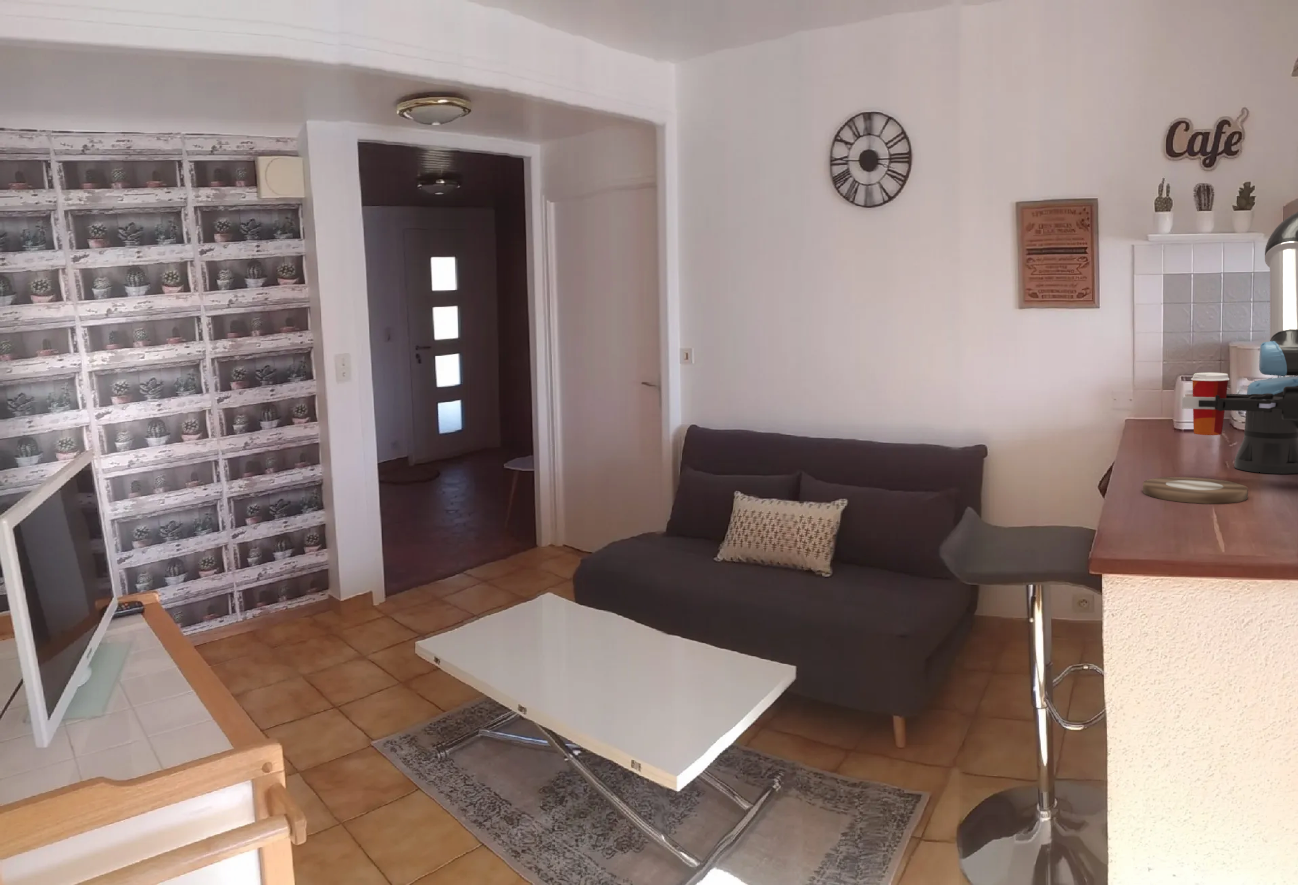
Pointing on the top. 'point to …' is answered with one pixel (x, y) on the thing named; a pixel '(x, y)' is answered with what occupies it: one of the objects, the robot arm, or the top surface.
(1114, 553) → the top surface
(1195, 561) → the top surface
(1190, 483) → the disc
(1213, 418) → the paper cup
